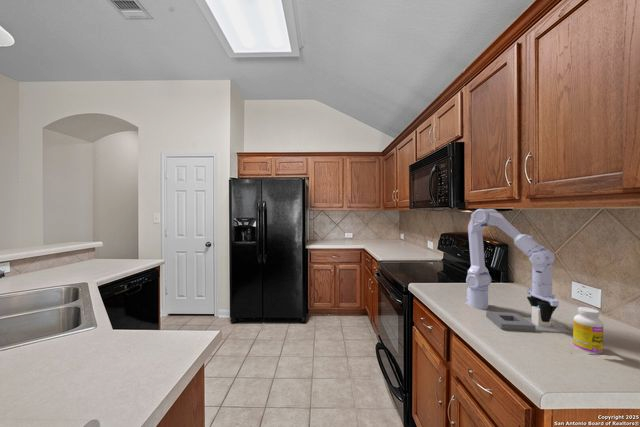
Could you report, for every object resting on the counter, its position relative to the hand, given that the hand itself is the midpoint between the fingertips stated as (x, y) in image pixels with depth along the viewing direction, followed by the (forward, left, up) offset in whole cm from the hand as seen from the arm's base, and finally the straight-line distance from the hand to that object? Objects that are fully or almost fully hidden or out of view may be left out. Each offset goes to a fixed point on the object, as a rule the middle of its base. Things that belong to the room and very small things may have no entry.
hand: (541, 319), depth 102 cm
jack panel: (0, -6, -3) cm, 6 cm away
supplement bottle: (+16, +3, -3) cm, 17 cm away
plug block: (0, 0, -3) cm, 3 cm away
